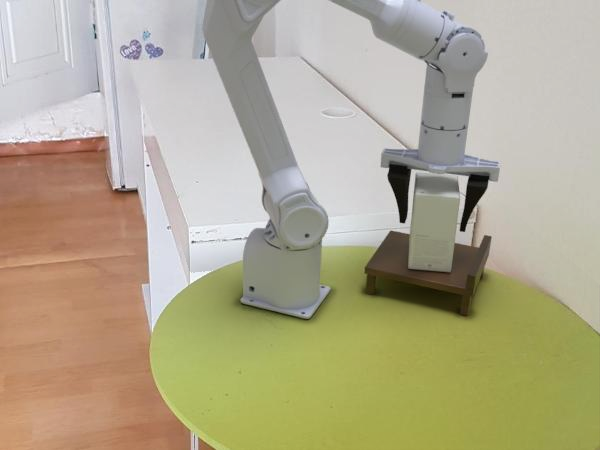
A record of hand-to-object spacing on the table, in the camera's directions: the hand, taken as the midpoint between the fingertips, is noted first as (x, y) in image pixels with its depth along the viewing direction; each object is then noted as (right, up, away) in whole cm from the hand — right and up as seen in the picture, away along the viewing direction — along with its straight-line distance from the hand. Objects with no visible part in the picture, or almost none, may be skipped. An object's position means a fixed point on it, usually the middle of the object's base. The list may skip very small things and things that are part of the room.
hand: (432, 224), depth 97 cm
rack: (0, -8, +4) cm, 9 cm away
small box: (0, -5, +2) cm, 5 cm away
